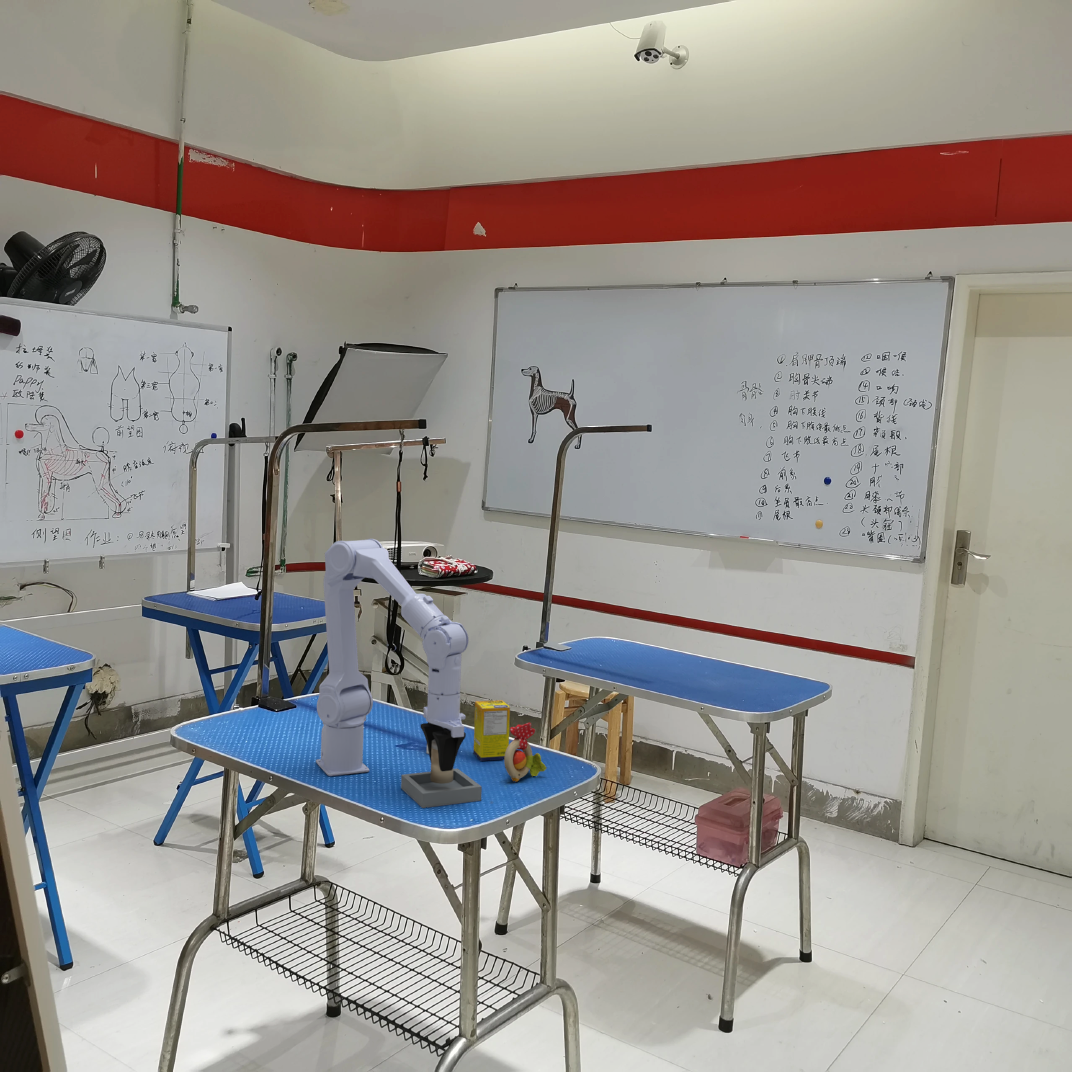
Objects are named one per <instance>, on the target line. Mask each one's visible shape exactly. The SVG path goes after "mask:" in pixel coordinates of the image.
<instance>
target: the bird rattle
mask: <svg viewBox="0 0 1072 1072" xmlns="http://www.w3.org/2000/svg"><path fill="white" fill-rule="evenodd" d="M535 732H536V729H535V728H532V723H531V722H530V721H529V722H526V723H524V724H517V725H516V726H511V727H509V733H510V734H511V735H512V736H514V739H513V740H512V741H511V742H509V746H508V747H507V749H506V752H505V757H504V759H503V760H504V761H503V762H504V763H503V764H504V768H505V771H506V772H507V774H508V776H509V777H510V778H511V780H512V782H514V781H515V782H514V783H516V782H518V781H520V780H521V778H523V777H525V776H526V775H527V774H528V773H530V775H531V777H533V776H538V775H539V773H541V772H545V771H546V770H547V768H548V767H547V766H546V764H544V762H543V761H542V755H541V754H540V753H538V752H537V753H535V754H534V755H533V750H532V746H531V745H530V743H529V742H528V739H530V738H531V737H532V736H534V734H535Z"/></svg>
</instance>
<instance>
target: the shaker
mask: <svg viewBox="0 0 1072 1072" xmlns="http://www.w3.org/2000/svg"><path fill="white" fill-rule="evenodd" d="M430 772H431V781H432V782H434V783H440V784H444V783H450V782H452V781H453V770H451V771H441V770H440V767H439V757H438V749H437V744H436V741H435V739H434V740H432V750H431V761H430Z"/></svg>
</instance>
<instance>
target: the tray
mask: <svg viewBox="0 0 1072 1072" xmlns="http://www.w3.org/2000/svg"><path fill="white" fill-rule="evenodd" d="M400 776H401V777H400V780H401V781H400V789H402V791H403V792H404V793H405V794H407V796H408V797H410V798H411V799H412V800H413V801H414V802H415V803H416V804H417V805H418V806H420V807H421V808H422V809H425V808H426V807H427V808H432V807H433V808H434V807H439V806H440V807H442V806H448V805H450V806H451V805H457V804H463V803H472V802H481V801H482V790H483V789H482V785H480V784H479V783H478V782H477V781H475V780H474V779H472V778H471V777H470V776H469V775H467V774H466V773H464V772H463V771H461V770H460V769H459V768H453V781H452V782H450V783H444V784H440V783H434V782H432V781H431V771H423V772H416V773H415V772H413V773H406V774H401V775H400Z"/></svg>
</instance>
